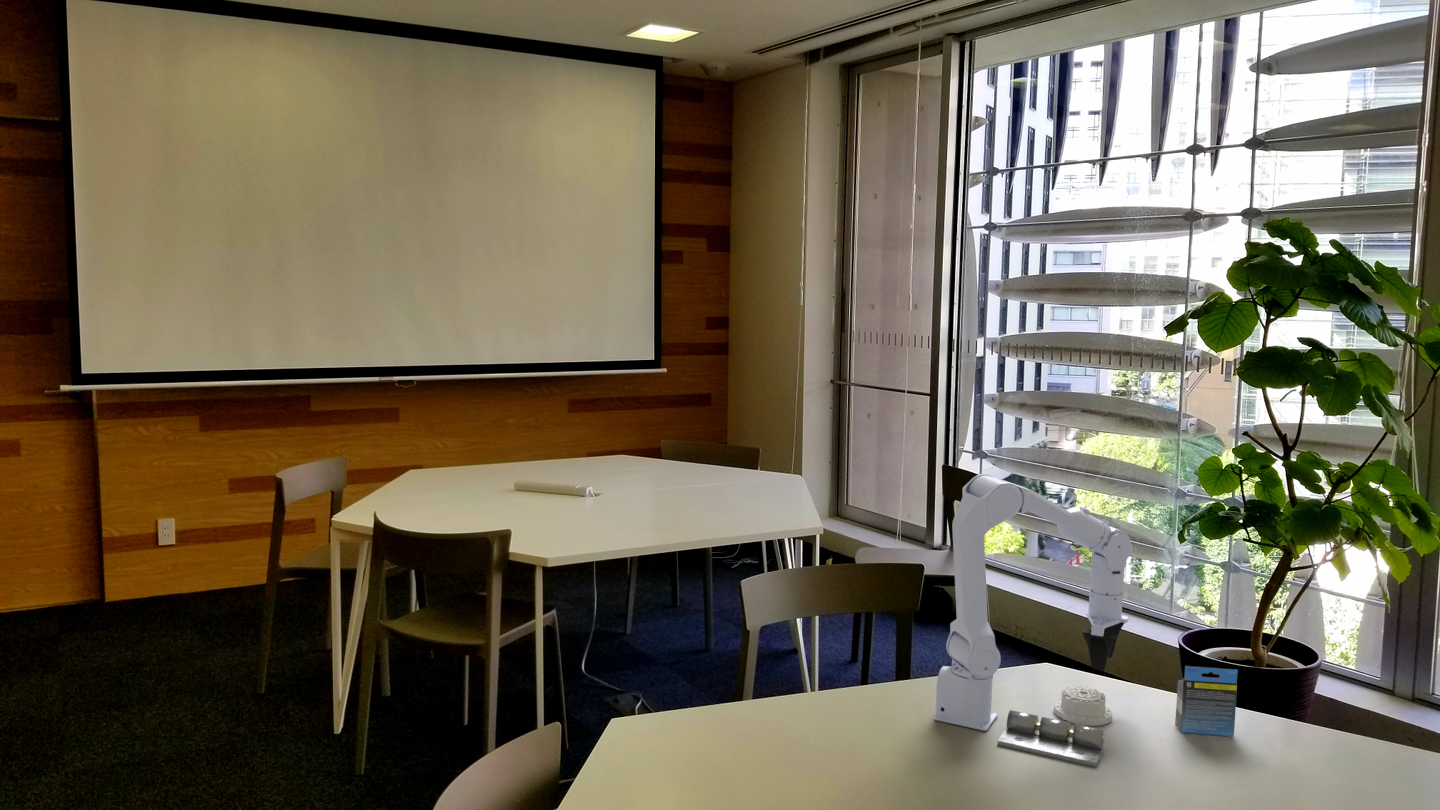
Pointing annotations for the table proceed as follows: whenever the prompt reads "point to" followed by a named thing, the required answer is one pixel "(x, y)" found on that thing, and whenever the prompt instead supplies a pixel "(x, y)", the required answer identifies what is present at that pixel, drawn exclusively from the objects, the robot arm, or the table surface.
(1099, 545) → the robot arm
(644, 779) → the table surface
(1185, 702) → the blue ink cartridge box
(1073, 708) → the mechanical component
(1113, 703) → the table surface
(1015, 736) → the hinge leaf
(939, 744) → the table surface
